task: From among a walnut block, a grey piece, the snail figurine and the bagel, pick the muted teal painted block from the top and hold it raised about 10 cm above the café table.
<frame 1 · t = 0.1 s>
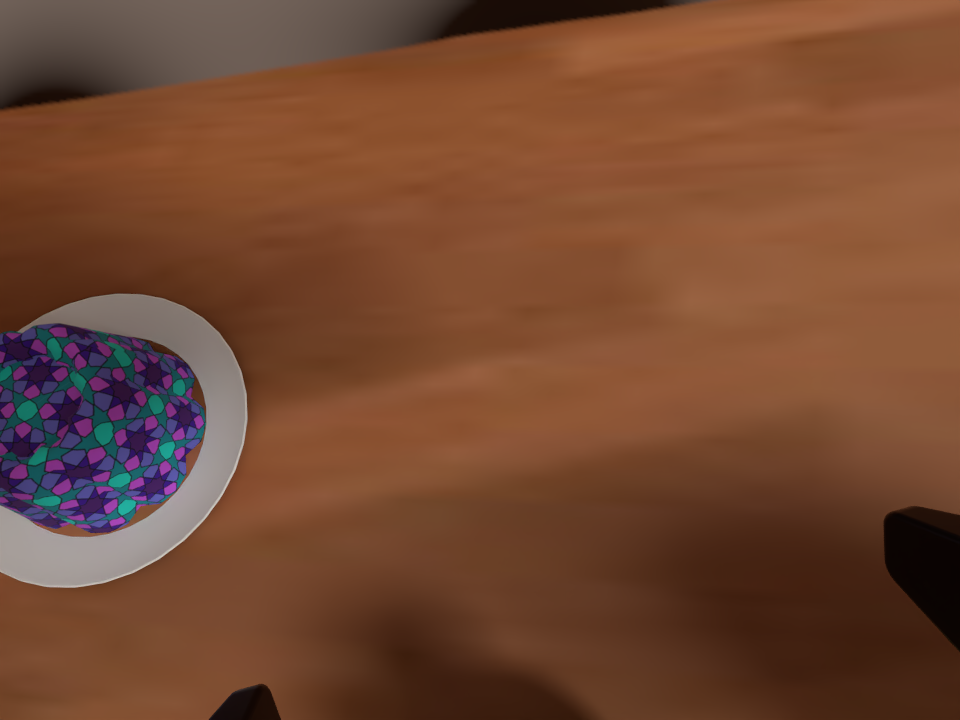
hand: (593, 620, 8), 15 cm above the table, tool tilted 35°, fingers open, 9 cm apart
pudding: (111, 433, 24), on the table
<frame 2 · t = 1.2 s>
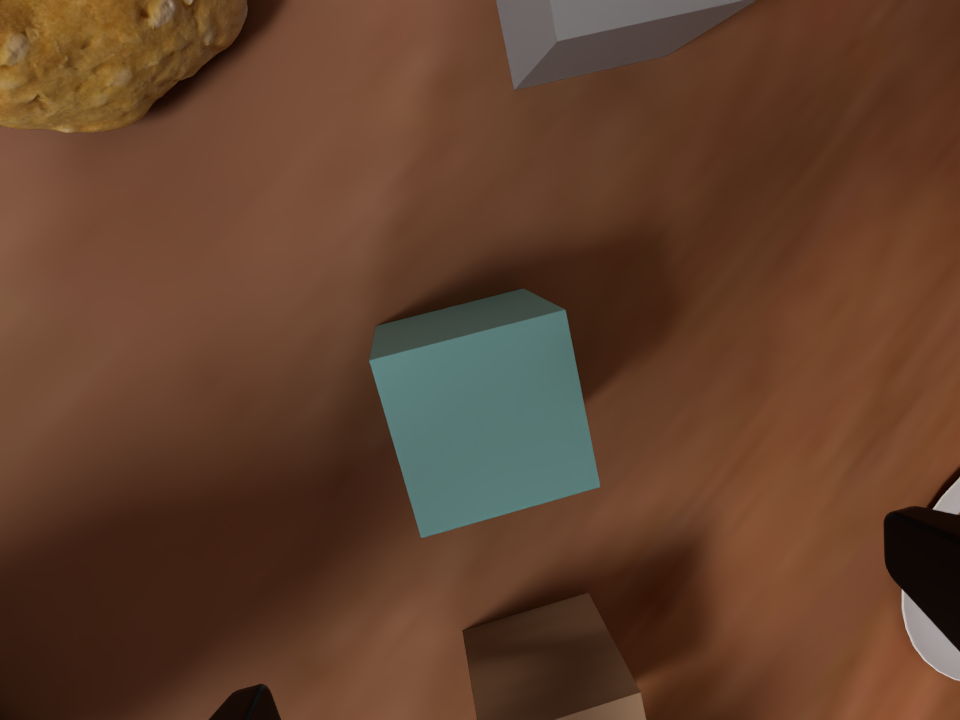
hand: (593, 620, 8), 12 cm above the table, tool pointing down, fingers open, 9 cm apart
walnut block: (538, 663, 23), on the table
teal block: (467, 377, 20), on the table
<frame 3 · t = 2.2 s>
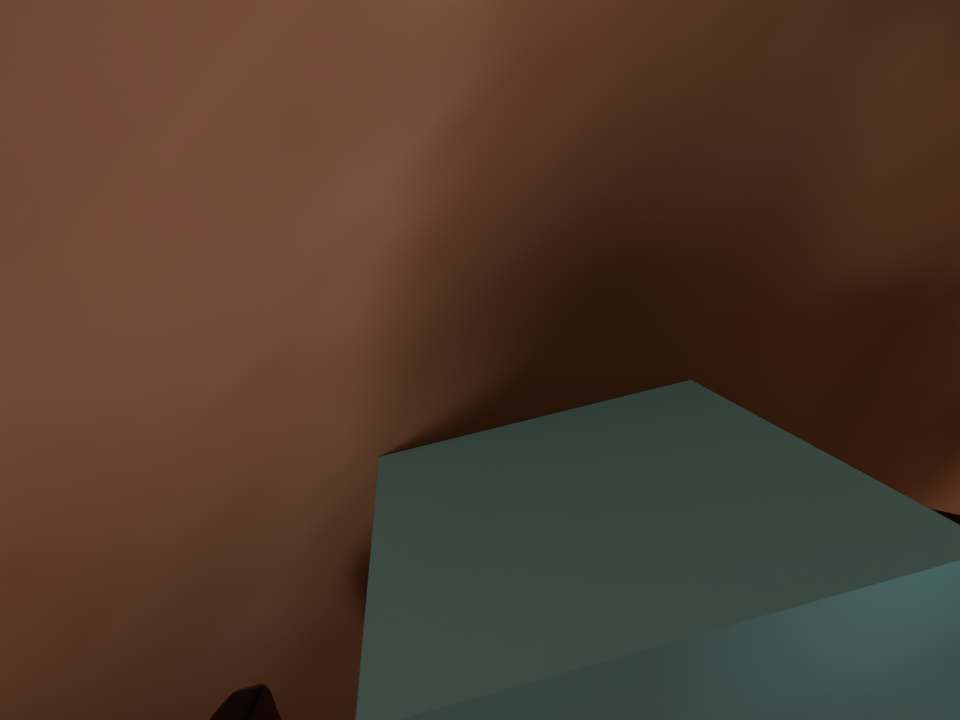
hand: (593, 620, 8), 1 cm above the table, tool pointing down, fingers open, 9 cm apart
teal block: (563, 554, 10), on the table
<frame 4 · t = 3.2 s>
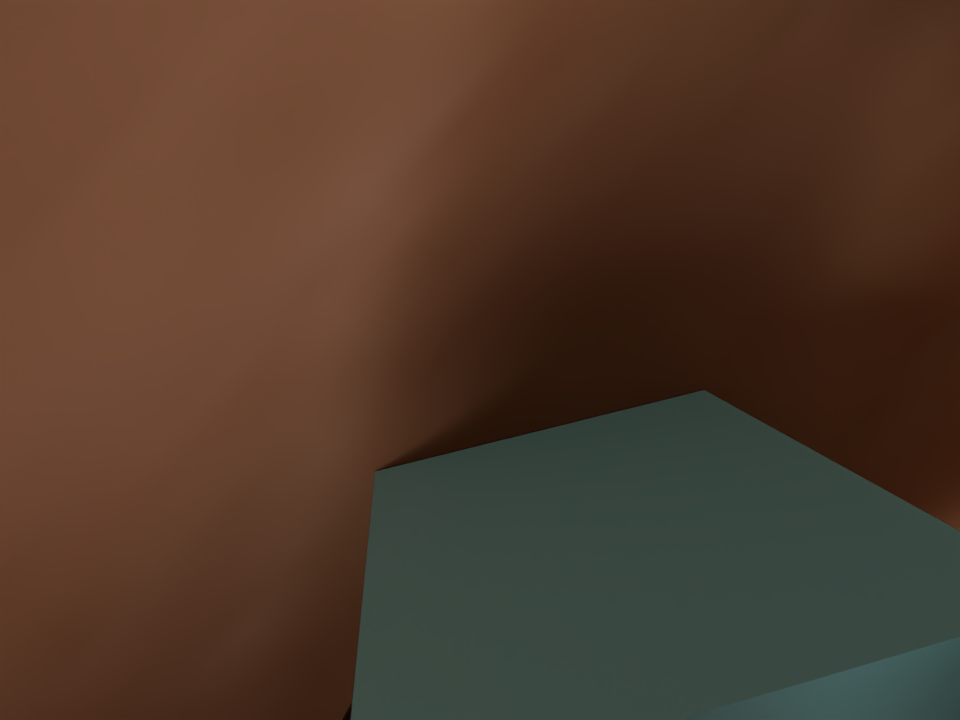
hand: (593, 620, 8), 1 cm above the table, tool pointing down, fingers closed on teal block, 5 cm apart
teal block: (571, 575, 9), on the table, touching gripper
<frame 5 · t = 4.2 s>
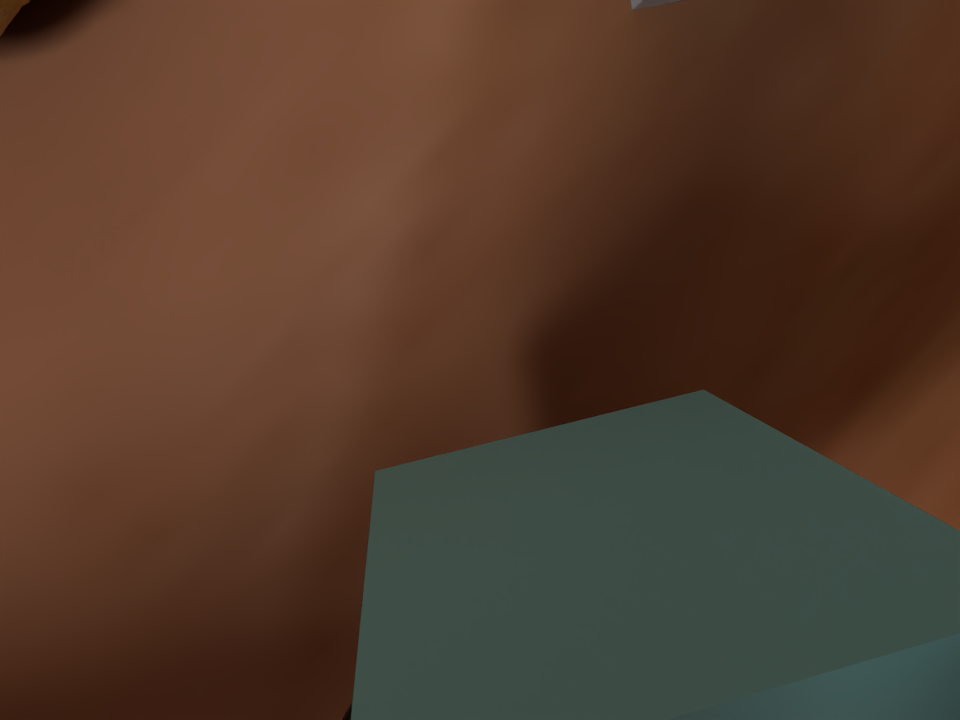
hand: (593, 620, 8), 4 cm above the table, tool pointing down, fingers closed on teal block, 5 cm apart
teal block: (570, 574, 9), point 3 cm above the table, touching gripper
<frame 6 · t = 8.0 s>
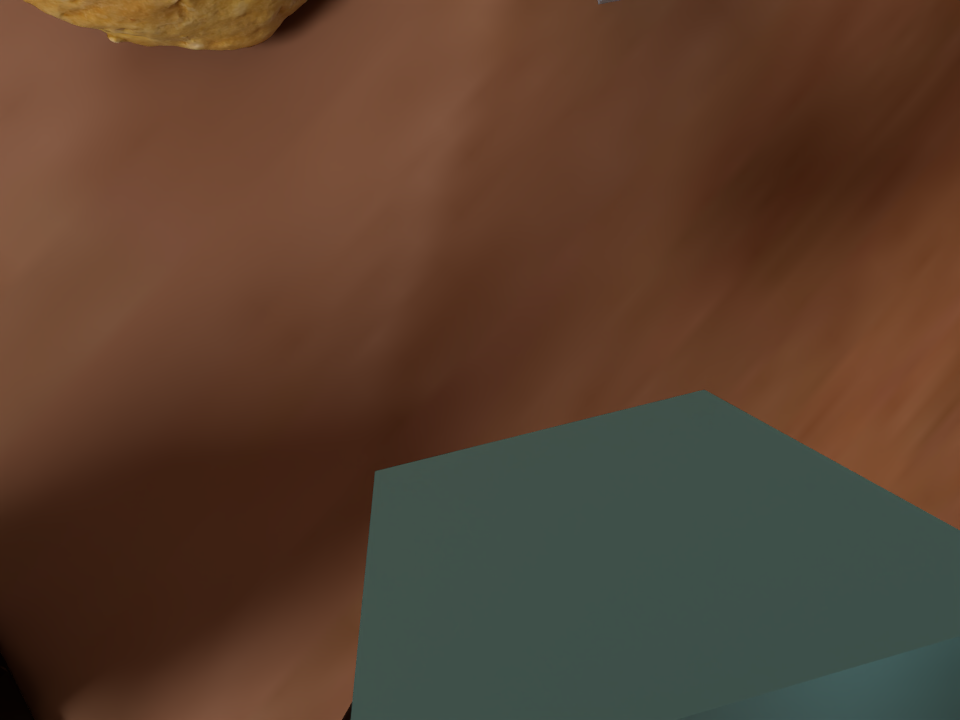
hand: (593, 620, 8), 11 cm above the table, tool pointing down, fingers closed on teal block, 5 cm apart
teal block: (571, 575, 9), point 10 cm above the table, touching gripper
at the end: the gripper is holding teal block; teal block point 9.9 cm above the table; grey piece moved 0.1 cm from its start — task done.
